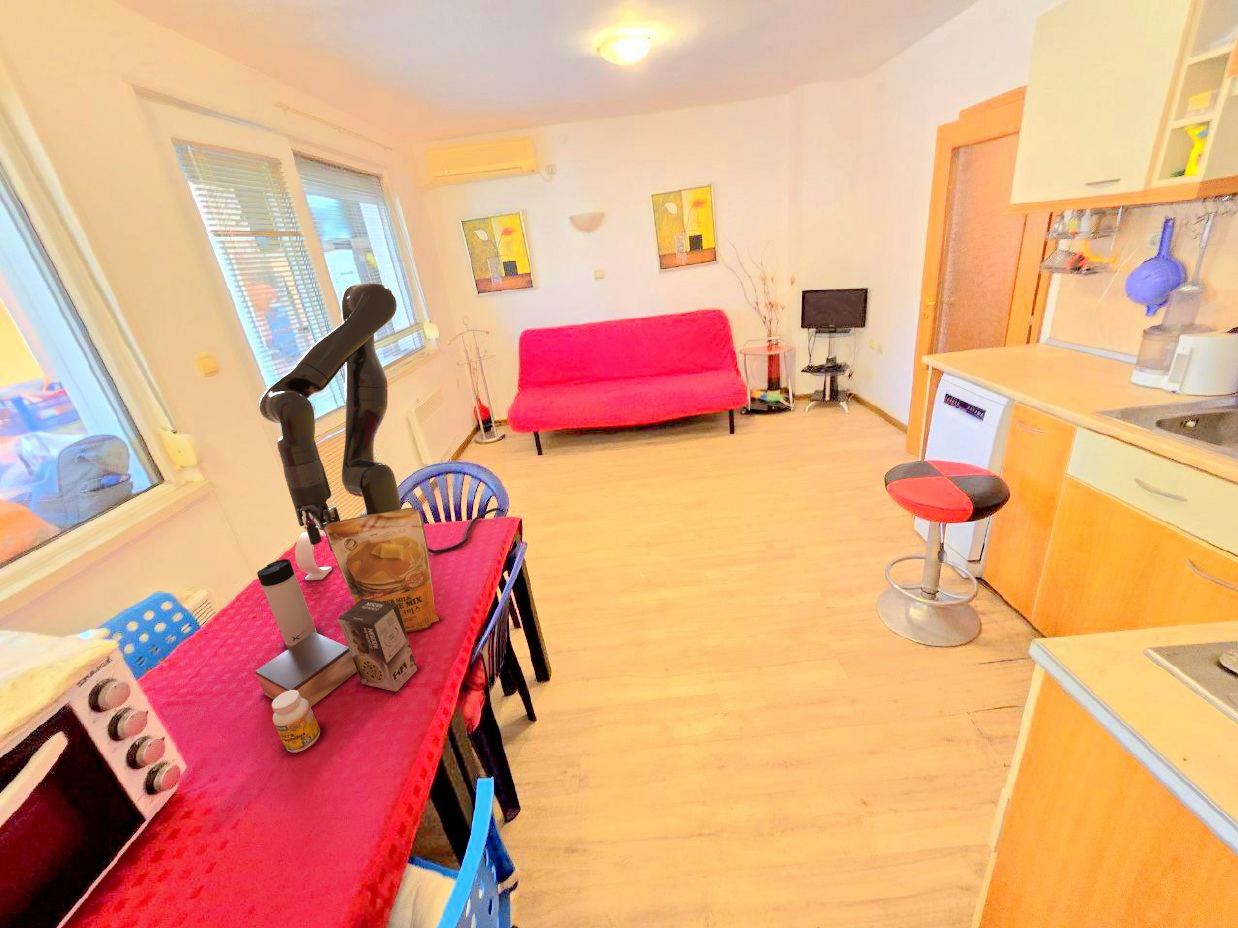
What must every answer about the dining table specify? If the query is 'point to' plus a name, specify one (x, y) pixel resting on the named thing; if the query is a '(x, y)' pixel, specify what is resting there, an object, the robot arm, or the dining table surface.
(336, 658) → the stand
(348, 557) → the pancake mix bag
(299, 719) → the supplement bottle
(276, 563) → the travel mug
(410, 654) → the coffee box
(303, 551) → the headphone stand
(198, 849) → the dining table surface
